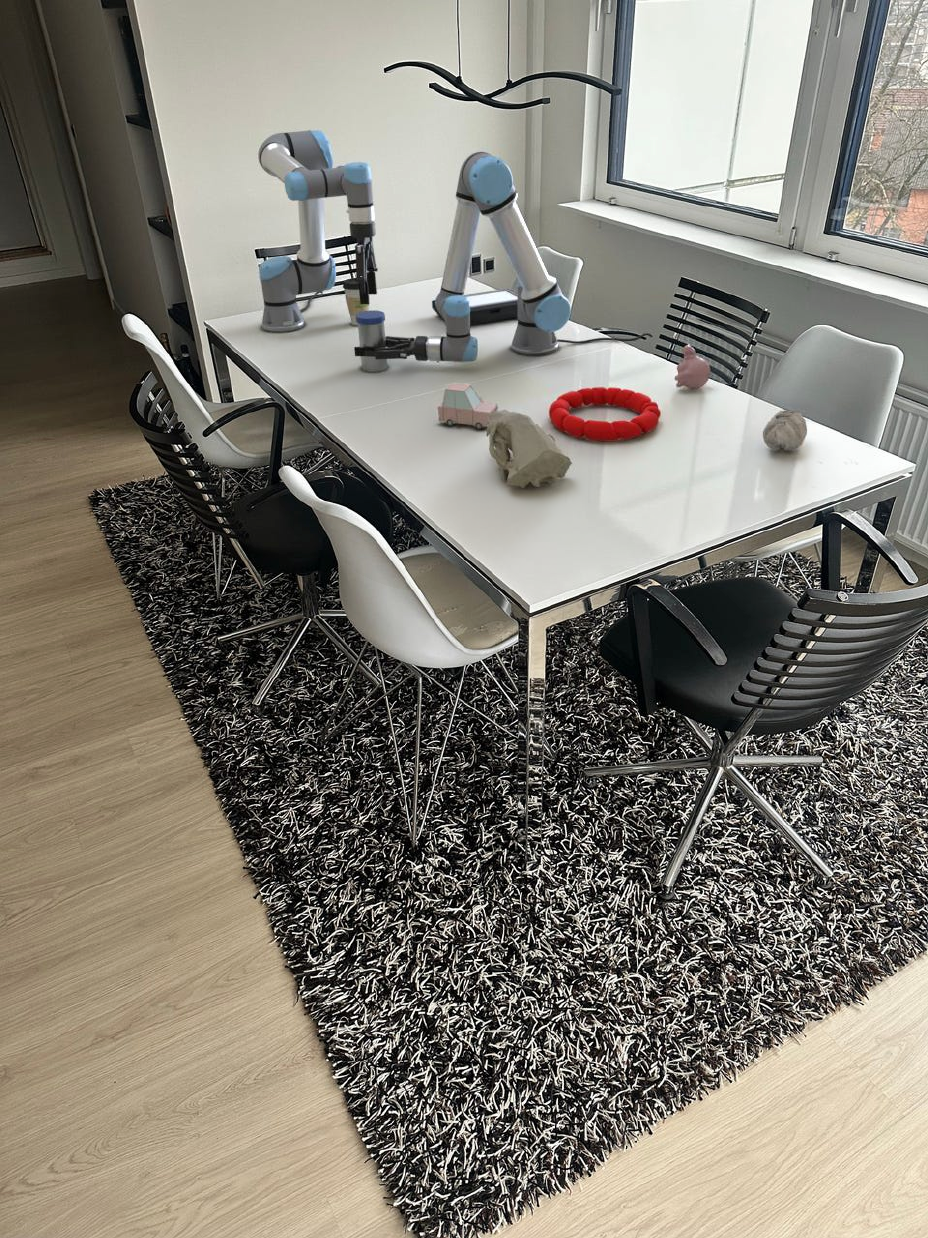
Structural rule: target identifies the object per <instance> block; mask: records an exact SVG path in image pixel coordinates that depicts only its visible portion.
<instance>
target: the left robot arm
mask: <svg viewBox="0 0 928 1238" xmlns="http://www.w3.org/2000/svg"><path fill="white" fill-rule="evenodd" d="M257 155H258V162H259V165H260V167H261V168H262V170H263V171H265V173H267V174H268V175H269V176H271V177H274V178H275V177H276V178H277V179H278V180H280V181H281V182H282V183H283V184H284V189H285V194H286V195H287V198H288V199H289V200H290V201H292V202H294V201H295V202H296V201H297V206H298V223H299V224H298V225H299V243H300V249H299V250H298V251H297V252H296V259H293V260H292V258H291V257H290V256H288V255H282V256H275V257H271V258H268V259H265V260H264V261H262V262H261V263H260V265H259V266H258V273H259V274H258V275H259V280H260V287H261V292H262V299H263V313H262V319H261V326H262V330H264V331H265V332H271V333H286V332H293V331H296V330H297V331H298V330H300V329H302V328H304V326H305V318H304V317H303V314H302V313H303V312H304V311H306V310H308V308H309V307H310V305H311V301H312V300H313V299H314V298H315V297H317V295H319V294H321V295H323V294H324V292H325V291H329V290H332V288H334V286H335V284H336V279H337V278H336V277H337V269H336V263H335V259H334V258H333V256H331V255H330V252H329V251H328V250H327V249H326V235H325V234H326V232H325V210H324V209H325V208H324V207H325V204H324V201H325V200H324V199H325V198H326V199H327V198H337V197H344V196H345V197H346V202H347V209H346V211H345V212H346V213H347V214H348V221H349V222H350V223H349V234H350V237H352V238H355V239H356V240H357V243H356V245H355V246H354V251H355V253H354V254H355V278H356V279H355V282H358V284H359V295H360V304H369V305H370V295H378V291H377V290H378V289H377V288H378V287H377V278H376V277H377V276H376V272H379V270H378V269H379V268H378V267H377V262H376V256H375V255H376V254H375V249H374V238H373V237H375V236H376V234H377V232H376V231H377V230H376V222H375V219H376V217H375V207H374V194H373V180H372V179H373V176H372V172H371V166H370V164H369V163H367V162H362V161H355V162H348V163H346V164H344V165H338V166H336V167H333V166H334V157H333V151H332V147H331V144H330V142H329V138H328V137H327V135H326V134H325V132H323V131H322V130H318V129H316V130H315V129H314V130H311V129H308V130H301V131H300V130H299V131H289V132H278V133H277V132H276V133H274V134H272V135H270V136H268V137H267V138H266V139H265V140H264V141H263V142H262V143H261V144H260V147H259V149H258V154H257ZM313 293H314V294H313ZM305 294H313V295H312V296H311V297H310V298H309V299H308V301H307V305H305V307H303V308H301V309H300V307H299V306H298V305H299V304H298V303H297V295H299V296H300V295H305Z"/></svg>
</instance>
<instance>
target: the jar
mask: <svg viewBox="0 0 928 1238" xmlns="http://www.w3.org/2000/svg"><path fill="white" fill-rule="evenodd" d="M357 330H358V332H357V333H358V342H359V343H358V344H359V347H374V346H376V348H386V342H385V337H386V331H385V321H384V322H382V323H379V324H373V325H363V324H359V323H358V326H357ZM360 361H361V370H362V371H364V372H367V373H380V372H383V371H386V370H387V369H388V359H378V360H377V359H375V357H369V356H360Z"/></svg>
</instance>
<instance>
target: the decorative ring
mask: <svg viewBox="0 0 928 1238" xmlns="http://www.w3.org/2000/svg"><path fill="white" fill-rule="evenodd" d="M583 405H584V406H586V407H587V406H591V405H593V406H604V405H608V406H614V407H619V408H624V409H628V410H632V411H635V412H636V413H638V414H639V415H637V416H635V417H632V418H631V419H630V420H625V419H624V420H623V419H622V420H614V421H611V422H609V421H607V420H606V421H605V420H593V419H587V420H586V421H585V419H584V418H582V417H579V416H577V415H573V414H571V413H570V410H571V409H579V408H581V407H582V406H583ZM548 416H549V419H550V422H551V423H552V425H553V426H554V427H555V428H556V429H558V430H559V431H561V432H563V433H567V434H568V435H569V436H573V437H576V438H580V439H582V438H583V437H585V438H586V439H587V440H591V441H601V442H602V441H603V442H608V441H609V442H610V441H611V442H612V441H615V442H616V441H618V440H630V439H634V438H638V437H641V436H642V434H647V433H650V432H651V431H653V430H654V429H655V428H656V427H657V426H658V424H659V422H660V421H659V420H660V417H661V410H660V408H659V405H658V403H657V402H656V401H652V399H651V397H649V396H648V395H646V394H644V393H642V392H635V391H634V390H632V389H628V388H624V389H622V388H620V387H613V386H612V387H611V386H610V387H608V388H606V387H604V386H594V387H585V388H584V387H583V388H580V389H578V390H571V391H568V392H565V393H563V394H561V395H560V396H558V397H557V398H556V400H554V401H552V403H551V404H550V407H549V409H548Z"/></svg>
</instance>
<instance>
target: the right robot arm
mask: <svg viewBox="0 0 928 1238" xmlns="http://www.w3.org/2000/svg"><path fill="white" fill-rule="evenodd" d="M518 195H519V193H518V192H517V190H516V187H515V184H514V177H513V173H512V171H511V169H510V167H509V165H508V164H507V163H506V162H505V161H504V160H503V159H501V158H500V157H498V156H495V155H492V154H490V153H489V152H486V151H476V152H473V153H471V154H470V155H468V156H467V157H466V159H464V161H463V163H462V165H461V168H460V172H459V176H458V181H457V187H456V193H455V199H456V200H457V205H456V210H455V215H454V220H453V226H452V230H451V235H450V241H449V245H448V250H447V255H446V259H445V265H444V270H443V276H442V281H441V286H440V290H439V293H437V295H436V297H435V299H434V300H435V305H436V308H437V311H438V312H439V314H440V315H441V316H442V317H443V318H444V319H443V320H444V321H445V335H446V336H445V335H443V336H442V335H429V336H428V335H417V336H415V337H402V336H390V335H385V342H386V348H376V346H374V347H360V346H354V347H353V350H354V351H353V352H354V357H361V356H369V357H375V359H377V360H378V359H387V360H400V359H401V360H407V359H408V357H410V356H414V358H415V360H416V361H417V362H427V361H430V362H436V363H437V364H438V363H440V362H455V363H457V362H458V363H471V362H472V363H473V362H475V361H476V360H477V358H478V352H479V344H478V343H479V342H478V337H476V336H472V334H471V325H470V306H469V299H468V298H467V297H465V296H463V295H465V290H466V285H467V280H468V277H469V276H468V275H469V271H470V267H471V262H472V258H473V253H474V249H475V244H476V239H477V234H478V230H479V225H480V221H481V216H484V217H487V218H489V220H490V223H491V224H492V226H493V229H494V231H495V233H496V235H497V237H498V240H499V242H500V244H501V246H502V248H503V250H504V252H505V254H506V256H507V258H508V260H509V262H510V264H511V267H512V269H513V271H514V273H515V275H516V277H517V279H518V281H517V287H516V291H517V294H518V318H517V325H516V329H515V332H514V335H513V338H512V342H511V350H513V352H515V353H517V354H519V355H526V356H543V355H548V354H551V353H552V354H553V353H554V352H557V350H558V349H559V348H558V347H559V343H566V344H567V343H568V344H575V345H576V344H578V345H579V344H586V343H587V344H588V343H593V342H598V341H617V342H634V341H638V340H640V339H641V338H643V337H645V336H649V337H650V338H653V337H654V335H652V334H651V333H650V332H644V333H642V334H640V335H639V336H637V337H634V338H617V337H598V338H597V337H596V338H590V339H585V340H577V341H576V340H569V339H568V340H567V339H558V338H557V334H556V332H557V331H559V330H561V329H562V328H564V326H566V324H567V323H568V321H569V320H570V317H571V314H572V313H571V312H572V310H571V309H572V307H571V304H570V301H569V299H568V298H567V297H566V296H565V295H563V292H562V290H561V288H560V286H559V284H558V281H557V279H556V277H555V276H552V275H549V274H548V271H547V269H546V267H545V265H544V262H543V261H542V258H541V256H540V254H539V252H538V249H537V247H536V244H535V242H534V241H533V240H534V239H533V238H532V236H531V234H530V232H529V229H528V227H527V224H526V223H525V221H524V218H523V216H522V214H521V212H520V209H519V207H518V204H517V199H518Z"/></svg>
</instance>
